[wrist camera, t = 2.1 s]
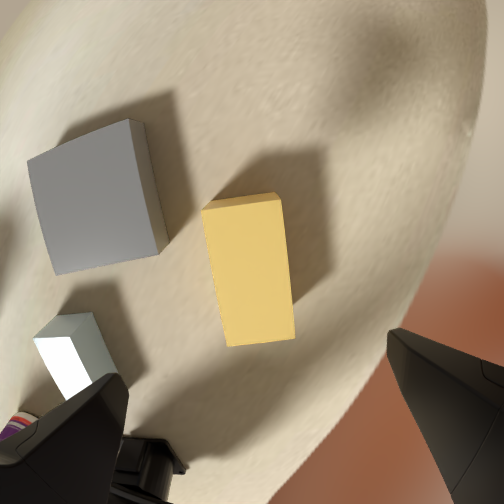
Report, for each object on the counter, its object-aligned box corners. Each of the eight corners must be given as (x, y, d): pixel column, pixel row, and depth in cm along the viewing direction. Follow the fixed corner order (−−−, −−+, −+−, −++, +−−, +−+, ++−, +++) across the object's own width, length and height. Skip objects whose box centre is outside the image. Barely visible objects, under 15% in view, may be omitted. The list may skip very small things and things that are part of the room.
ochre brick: (288, 307, 21) (295, 338, 17) (231, 314, 21) (227, 346, 17) (274, 191, 19) (280, 199, 15) (211, 200, 19) (200, 210, 15)
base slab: (171, 241, 20) (158, 254, 17) (76, 261, 20) (55, 275, 17) (145, 123, 18) (128, 118, 15) (51, 159, 18) (26, 161, 15)
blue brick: (127, 389, 23) (113, 419, 20) (92, 388, 24) (76, 416, 20) (93, 310, 21) (69, 336, 17) (57, 314, 21) (32, 338, 18)
